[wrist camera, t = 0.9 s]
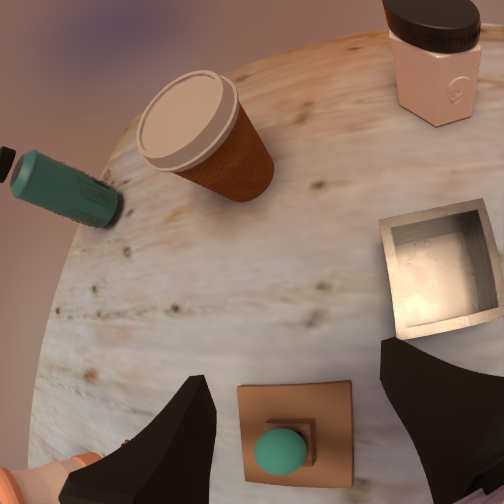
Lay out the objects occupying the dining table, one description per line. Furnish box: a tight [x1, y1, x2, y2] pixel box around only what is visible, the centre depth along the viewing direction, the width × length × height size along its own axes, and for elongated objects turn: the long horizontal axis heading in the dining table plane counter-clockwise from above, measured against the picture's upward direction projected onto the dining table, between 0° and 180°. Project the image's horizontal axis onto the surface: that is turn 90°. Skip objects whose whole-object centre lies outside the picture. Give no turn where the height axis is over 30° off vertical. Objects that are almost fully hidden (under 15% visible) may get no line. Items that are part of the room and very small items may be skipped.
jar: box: [382, 0, 481, 127], centre depth 19 cm, size 9×8×12 cm
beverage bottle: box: [0, 146, 118, 228], centre depth 33 cm, size 6×7×20 cm
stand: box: [237, 380, 354, 488], centre depth 22 cm, size 10×10×2 cm
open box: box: [378, 198, 504, 340], centre depth 19 cm, size 8×8×6 cm
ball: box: [254, 428, 307, 475], centre depth 20 cm, size 4×4×4 cm
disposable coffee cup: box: [136, 70, 274, 202], centre depth 27 cm, size 10×10×12 cm
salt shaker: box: [0, 453, 102, 504], centre depth 24 cm, size 7×7×19 cm
